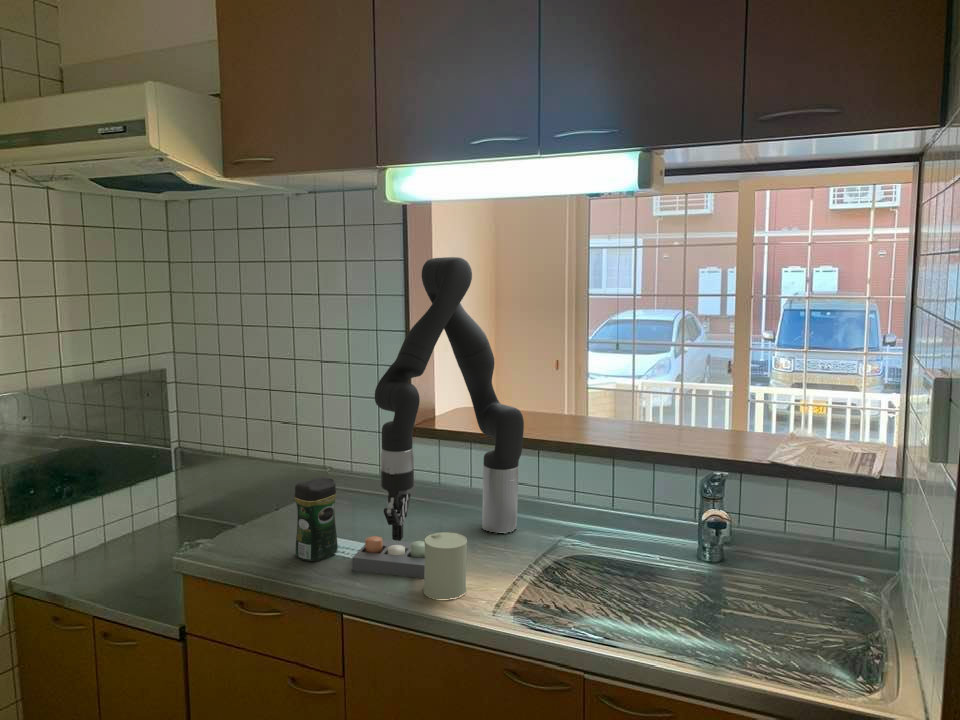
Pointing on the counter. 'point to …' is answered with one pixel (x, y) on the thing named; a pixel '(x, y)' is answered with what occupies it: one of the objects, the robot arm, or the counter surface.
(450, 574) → the can
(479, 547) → the counter surface
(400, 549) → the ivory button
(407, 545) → the button panel
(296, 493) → the coffee jar
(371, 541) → the terracotta button
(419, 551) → the sage button
